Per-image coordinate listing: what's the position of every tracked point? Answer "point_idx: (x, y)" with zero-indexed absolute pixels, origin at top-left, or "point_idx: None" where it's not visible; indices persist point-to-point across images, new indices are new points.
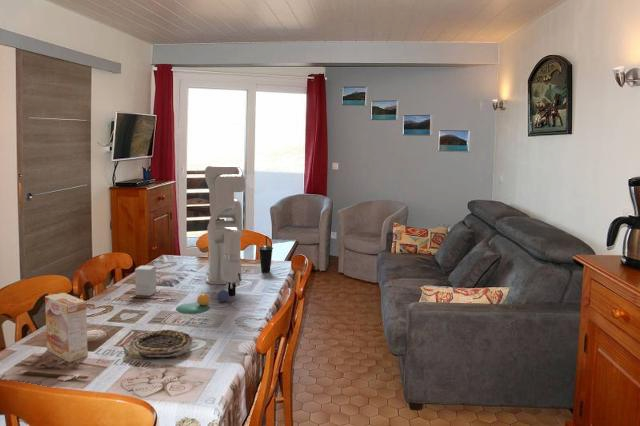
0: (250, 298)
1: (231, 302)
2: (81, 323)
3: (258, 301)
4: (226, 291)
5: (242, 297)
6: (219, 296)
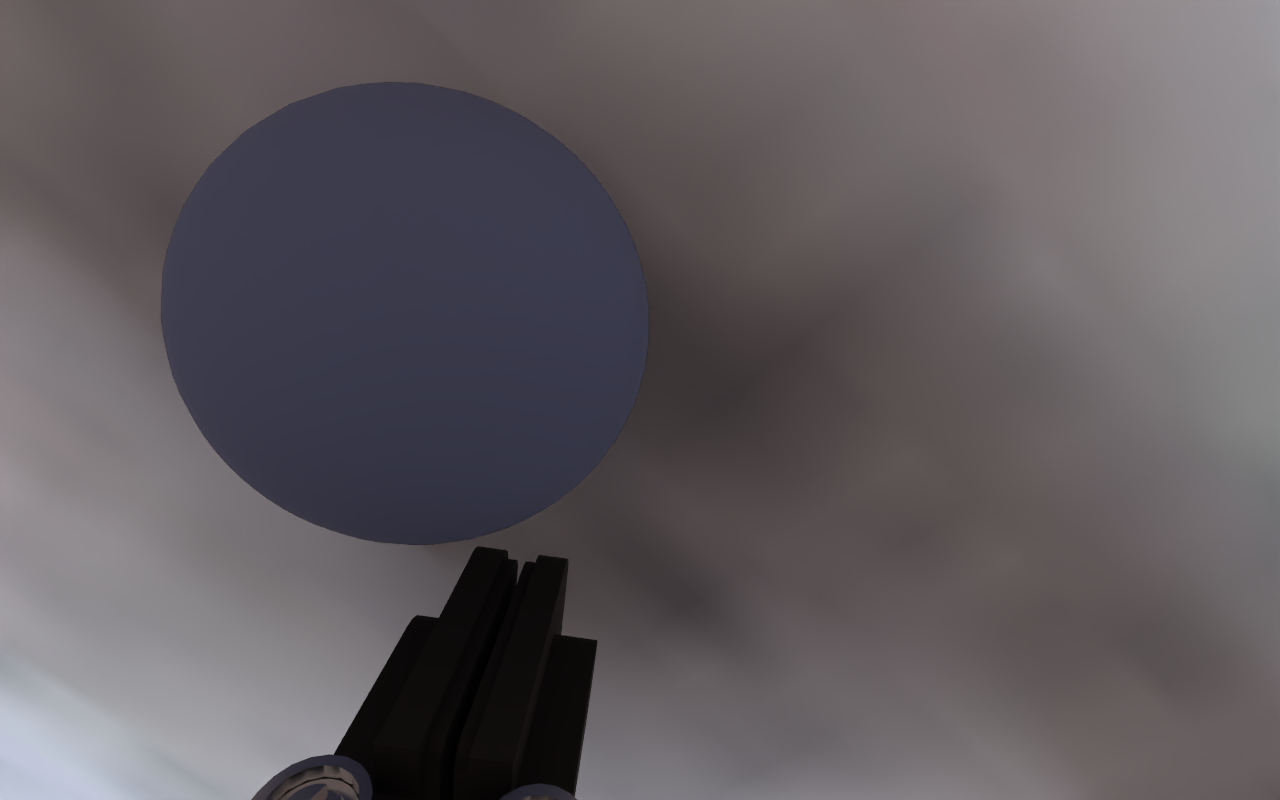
0: None
1: None
2: None
3: (86, 735)
4: (230, 457)
5: None
6: (346, 87)
